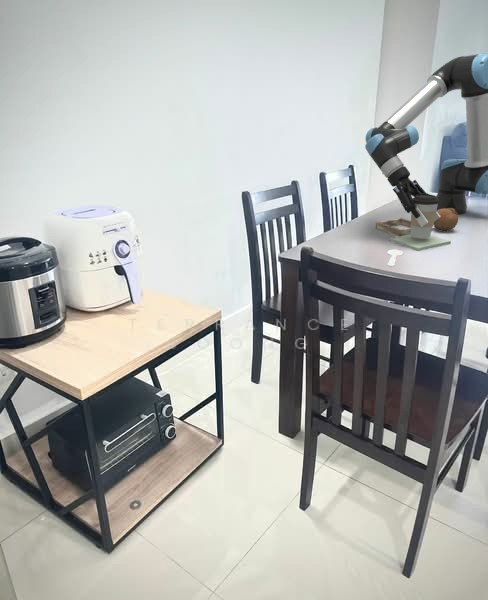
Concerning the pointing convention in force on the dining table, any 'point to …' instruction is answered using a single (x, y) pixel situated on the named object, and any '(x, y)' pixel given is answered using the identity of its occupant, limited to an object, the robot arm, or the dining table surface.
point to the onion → (446, 219)
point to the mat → (420, 242)
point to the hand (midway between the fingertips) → (431, 221)
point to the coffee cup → (428, 209)
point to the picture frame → (387, 225)
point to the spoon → (393, 256)
